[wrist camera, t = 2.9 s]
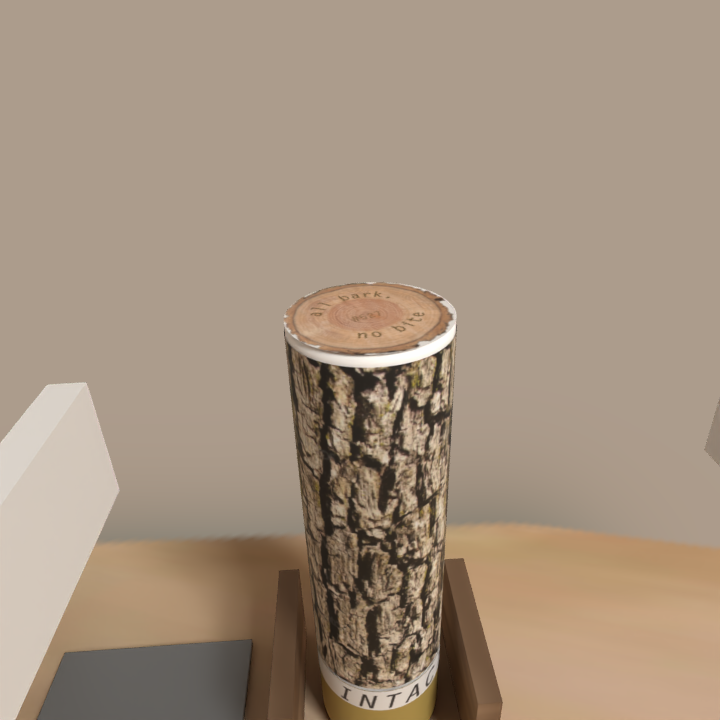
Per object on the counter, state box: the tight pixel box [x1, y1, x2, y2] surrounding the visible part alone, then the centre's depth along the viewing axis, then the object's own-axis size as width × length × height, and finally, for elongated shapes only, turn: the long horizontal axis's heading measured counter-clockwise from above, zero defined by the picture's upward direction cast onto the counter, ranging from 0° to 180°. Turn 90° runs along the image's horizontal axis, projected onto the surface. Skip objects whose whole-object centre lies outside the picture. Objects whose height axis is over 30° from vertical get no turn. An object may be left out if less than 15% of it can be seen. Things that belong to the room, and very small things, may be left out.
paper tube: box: [284, 282, 457, 720], centre depth 29 cm, size 7×7×25 cm
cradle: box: [267, 558, 503, 720], centre depth 34 cm, size 11×9×6 cm
